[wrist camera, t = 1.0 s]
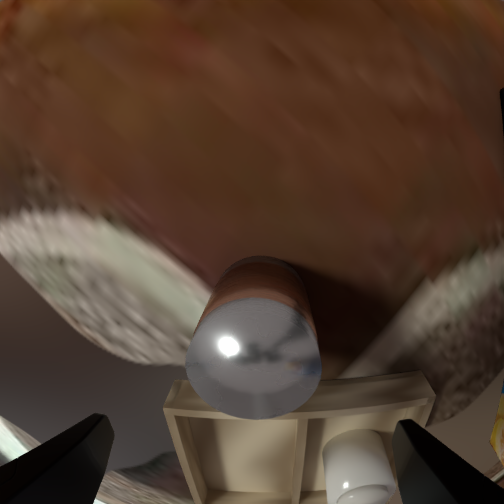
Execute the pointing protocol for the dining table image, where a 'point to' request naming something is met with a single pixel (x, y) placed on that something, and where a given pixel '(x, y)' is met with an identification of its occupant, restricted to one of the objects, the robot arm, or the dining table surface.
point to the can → (256, 342)
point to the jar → (357, 469)
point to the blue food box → (499, 430)
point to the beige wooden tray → (286, 438)
